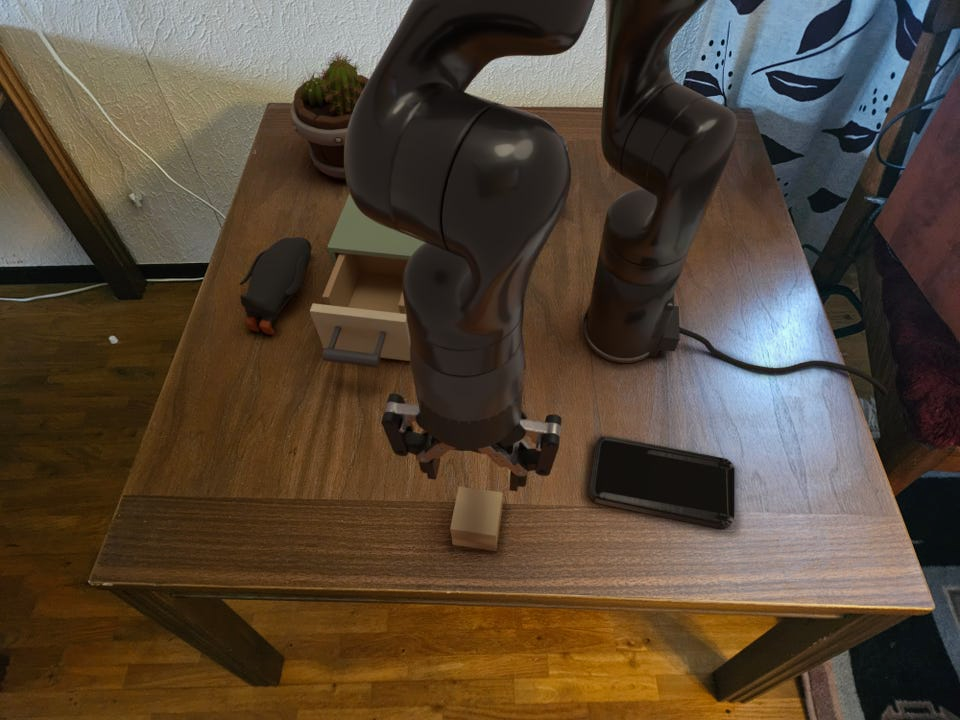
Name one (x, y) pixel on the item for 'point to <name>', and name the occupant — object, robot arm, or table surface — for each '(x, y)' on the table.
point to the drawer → (363, 311)
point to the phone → (663, 482)
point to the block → (476, 518)
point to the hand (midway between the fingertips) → (474, 475)
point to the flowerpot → (327, 113)
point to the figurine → (274, 281)
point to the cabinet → (368, 237)
